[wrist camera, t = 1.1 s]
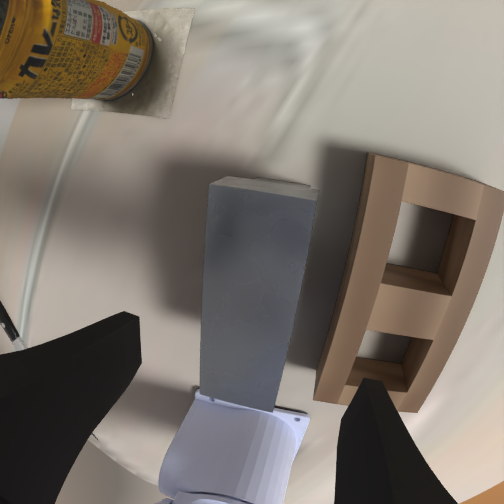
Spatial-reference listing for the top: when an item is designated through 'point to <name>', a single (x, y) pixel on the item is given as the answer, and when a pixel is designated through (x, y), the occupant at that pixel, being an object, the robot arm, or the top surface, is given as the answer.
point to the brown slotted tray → (407, 282)
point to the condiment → (92, 54)
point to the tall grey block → (252, 285)
